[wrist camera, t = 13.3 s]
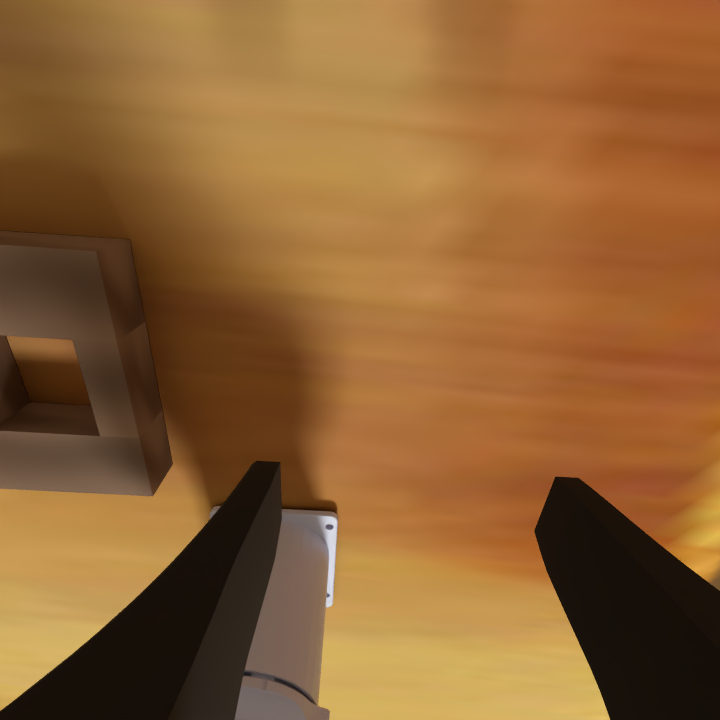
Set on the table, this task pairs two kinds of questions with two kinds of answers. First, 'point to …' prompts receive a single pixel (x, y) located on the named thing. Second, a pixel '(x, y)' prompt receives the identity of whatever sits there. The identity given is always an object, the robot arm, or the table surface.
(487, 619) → the table surface
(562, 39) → the table surface
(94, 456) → the pocket board
